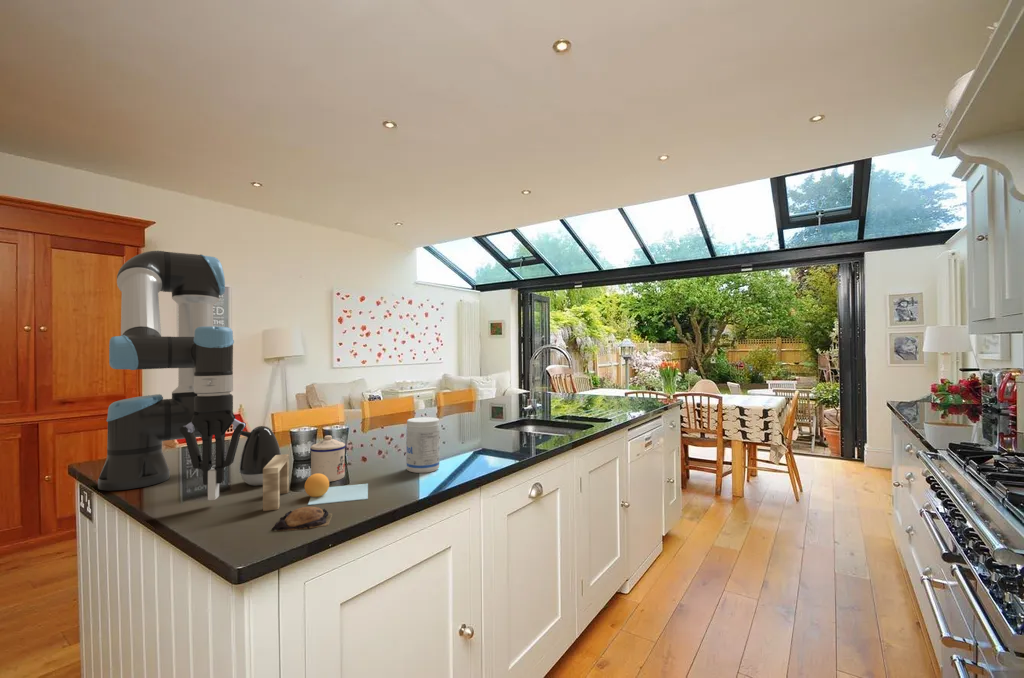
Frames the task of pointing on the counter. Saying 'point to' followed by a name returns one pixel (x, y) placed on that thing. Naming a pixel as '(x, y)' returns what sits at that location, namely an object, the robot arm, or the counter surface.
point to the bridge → (275, 481)
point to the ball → (316, 485)
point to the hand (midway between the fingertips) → (213, 498)
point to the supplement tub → (422, 444)
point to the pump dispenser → (257, 454)
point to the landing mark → (342, 494)
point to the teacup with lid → (328, 458)
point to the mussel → (303, 519)
